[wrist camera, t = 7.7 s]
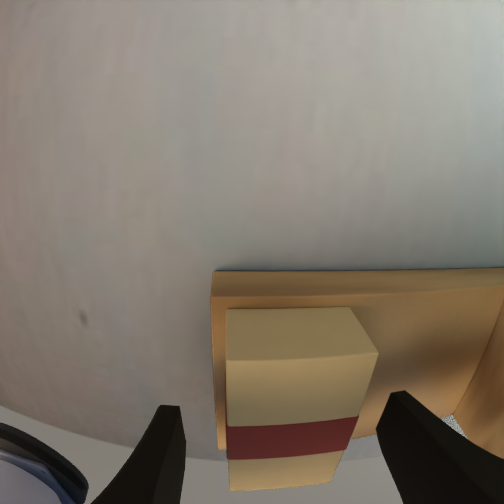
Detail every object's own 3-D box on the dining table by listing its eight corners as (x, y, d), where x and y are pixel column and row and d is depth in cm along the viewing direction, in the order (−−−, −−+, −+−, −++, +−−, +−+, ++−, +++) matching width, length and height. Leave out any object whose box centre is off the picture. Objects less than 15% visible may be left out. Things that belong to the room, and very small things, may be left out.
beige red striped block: (318, 437, 13) (331, 483, 10) (227, 442, 12) (228, 491, 10) (350, 305, 10) (381, 353, 8) (224, 307, 10) (223, 362, 7)
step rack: (535, 360, 16) (597, 427, 8) (218, 418, 14) (220, 584, 6) (572, 263, 13) (655, 320, 5) (212, 270, 12) (195, 512, 3)
